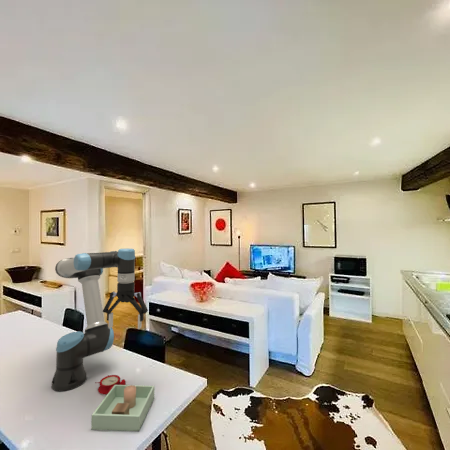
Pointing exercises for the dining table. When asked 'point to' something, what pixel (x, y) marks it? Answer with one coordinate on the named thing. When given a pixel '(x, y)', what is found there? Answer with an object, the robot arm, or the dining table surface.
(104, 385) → the alarm clock
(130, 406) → the terracotta canister
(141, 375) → the dining table surface
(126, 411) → the walnut cube
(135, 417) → the tray
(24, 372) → the dining table surface
